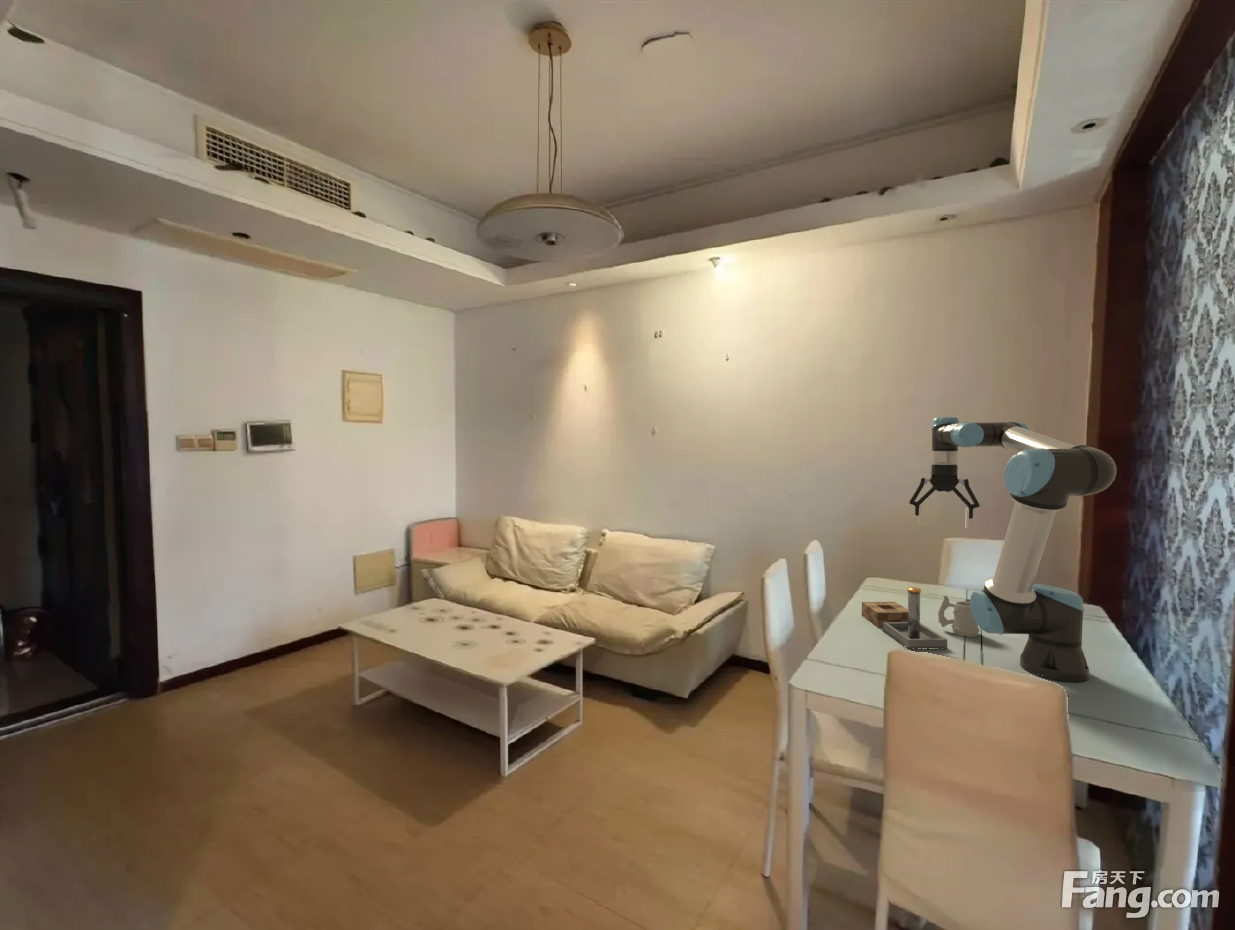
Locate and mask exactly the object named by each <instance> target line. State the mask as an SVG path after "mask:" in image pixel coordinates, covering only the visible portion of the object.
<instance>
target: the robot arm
mask: <svg viewBox="0 0 1235 930" xmlns="http://www.w3.org/2000/svg"><path fill="white" fill-rule="evenodd" d="M931 426H932V427H931V463H932V464H931V470H930V471H931V472H930V473H931V474H930V478H926V477H923V476H921V478H920V482H919V484H918V486H917V488H916V489H915V492H914V493H913V495H912V496H911V498H910V500H909V504H910V505H913V506H914V507H915V508H914V509H915V510H914V514H915V516H917V517H918V526H919V527H921V526H922V511H923V510H922V509H923V508H922V503H923V502H924V501H926V500H927V499H928V498H929V497H930V496H931V495H932V494H933V493H934V492H935V491H937V492H947V493H948V492H949V493H950V492H953V493H954V494H956V496H957V497H958V498H959V499H960V500H961V501H962V502H963V503H964V505H966V508H965V517H964V518H965V519H964V520H965V521H964V524H965V526H964V528H965V529H966V530H969V529H970V527H969V526H970V521H969V520H970V519H973V517H974V509H976V508H980V506H981V505H980V503H979V501H978V499H977V497H976V495H975V494H974V492H973V490H972V489H971V487H970V482H969V479H968V478H966V477H964V478H960V479H959V478H958V469H959V468H958V467H959V466H958V465H957V463H959V460H958V459H959V447H961V448H973V447H975V448H977V447H1001V448H1003V449H1005V450H1008V451H1011V452H1013V453H1015V454H1014V455H1012V456H1011V457H1010V459H1009V460H1008V462H1007V463H1006V466H1005V468H1004V472H1003V478H1004V479H1005V480H1004V481H1003V482H1004V486H1005V488H1006V490H1007V491H1008V493H1009V496H1010V498H1011V500H1012V501H1013V502H1014V506H1013V509H1012V512H1011V516H1010V518H1009V522H1008V527H1007V530H1006V534H1005V537H1004V540H1003V544H1002V546H1001V547H1002V548H1001V551H1000V554H999V558H998V561H997V565H996V568H995V571H994V572H995V573H994V575H993V576H992V577H990V578H988V579H986V580H985V583H984V586H983V589H982V590H981V589H977V590H975V591H972V593H971V595H970V597H969V598H970V599H969V602H970V607H971V611H972V614H973V617H974V619H975V621H976V623H977V625H978V628H979V629H981V630H982V631H983V632H985V633H987V634H995V635H1028V636H1027V637H1028V639H1027V641H1026V642H1025V646H1024V648H1023V650H1022V652H1021V654H1020V656H1019V664H1020V667H1021V668H1022V669H1023V670H1025V671H1027V670H1028V671H1027V672H1029V673H1031V674H1033V675H1036V674H1039V675H1040V676H1039V675H1038V676H1039V677H1043V678H1046V679H1050V680H1054V681H1060V682H1069V683H1079V682H1086V681H1088V680H1089V679H1090V667H1089V665H1088V662H1087V658H1086V657H1085V653H1084V650H1083V647H1082V646H1083V624H1084V623H1083V622H1084V621H1083V620H1084V619H1083V617H1084V612H1085V610H1084V602H1083V601H1084V598H1083V597H1082V596H1081V595H1080V594H1079V593H1077V592H1075V591H1072V590H1069V589H1066V588H1063V587H1058V586H1054V585H1048V584H1042V583H1034V582H1035V579H1036V575H1037V573H1038V569H1039V567H1040V562H1041V560H1042V557H1043V554H1044V551H1045V548H1046V544H1047V541H1048V538H1049V535H1050V532H1051V529H1052V526H1053V523H1054V520H1055V517H1056V513H1057V512H1060V511H1062V510H1064V509H1066V507H1067V504H1068V501H1069V499H1070V497H1074V496H1075V497H1077V496H1078V497H1079V496H1080V497H1082V496H1091V495H1096V494H1098V493H1100V492H1103V491H1105V490H1107V489H1108V488H1109V487H1110V486H1111V485H1112V483H1113V482H1114V481H1115V480H1116V476H1117V471H1118V470H1117V465H1116V463H1115V460H1114V459H1113V458H1112V457H1111V455H1110V454H1109V453H1107V452H1105V451H1104V450H1102V449H1099V448H1096V447H1092V446H1089V445H1086V444H1077V445H1074V444H1071V443H1068V442H1066V441H1063V440H1059V439H1056V438H1054V437H1051V436H1048V435H1044V434H1041V433H1039V432H1037V431H1033V430H1031V429H1029V427H1028V426H1027V425H1026V424H1025V423H1024V422H1018V421H1006V422H1005V421H1004V422H999V421H998V422H966V421H965V422H959V418H958V417H954V416H947V417H946V416H944V417H943V416H942V417H941V416H940V417H935V418H933V420H932V425H931ZM928 483H930V484H931V487H930V488H929V489H928V490H927V491H926V492H925V493H924V494H923V495H922V496H921V497H920V498H918V496H919V495H920V493H921V491H922V489H923V488H924V486H925V485H927V484H928ZM959 483H960V485H962V486H964V488H965V490H966V492H967V494H968V496H969V497H970V499H971V501H972V502H973V503H971V502H970V501H969V500H968V499H967V498H966V497H965V496H964V495H963V494H962V492H961V491H960V490H959V489H958V488H957V486H958V484H959ZM917 498H918V500H917ZM916 500H917V501H916ZM1041 675H1043V676H1041Z"/></svg>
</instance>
